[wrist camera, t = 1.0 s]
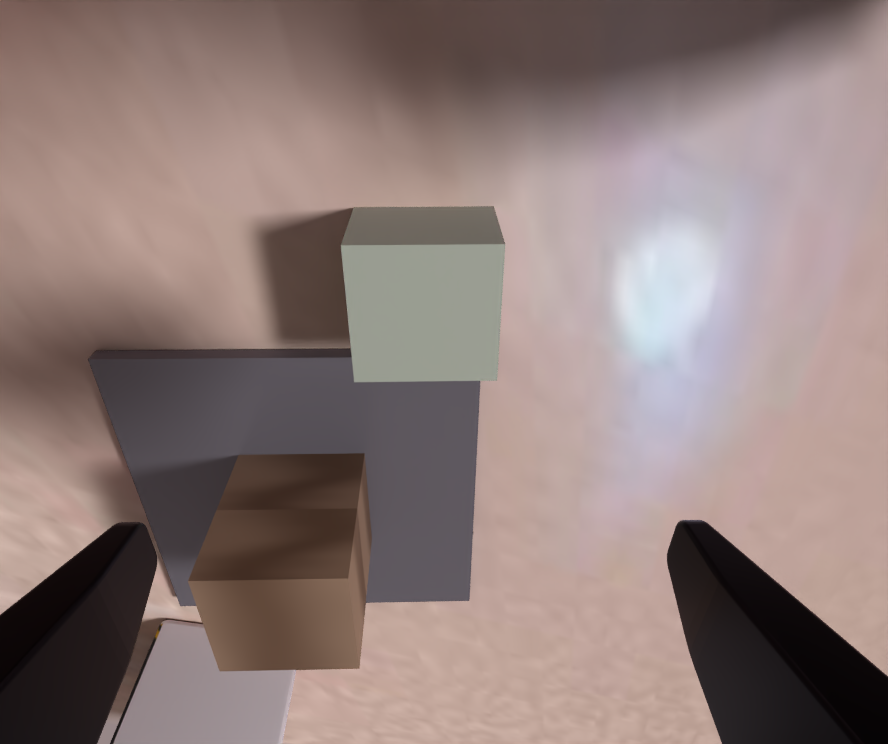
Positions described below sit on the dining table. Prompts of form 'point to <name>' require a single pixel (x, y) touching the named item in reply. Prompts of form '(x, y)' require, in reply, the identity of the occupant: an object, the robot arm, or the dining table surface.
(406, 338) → the sage block
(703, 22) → the dining table surface
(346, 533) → the tower top
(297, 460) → the tower base
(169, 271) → the dining table surface
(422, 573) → the plate
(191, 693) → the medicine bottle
